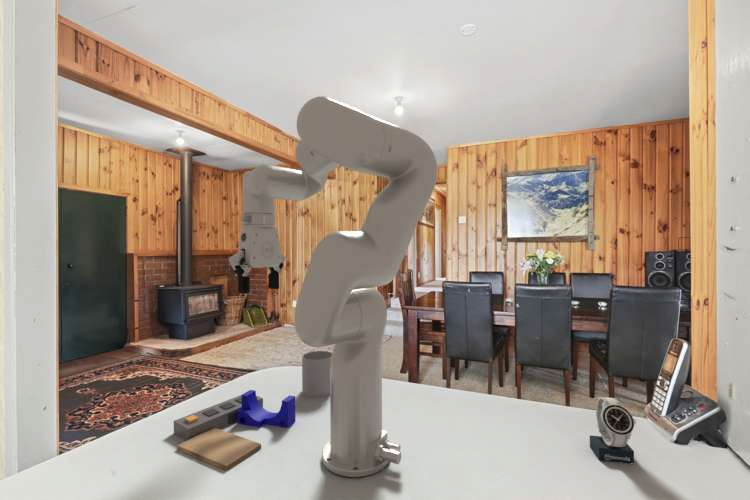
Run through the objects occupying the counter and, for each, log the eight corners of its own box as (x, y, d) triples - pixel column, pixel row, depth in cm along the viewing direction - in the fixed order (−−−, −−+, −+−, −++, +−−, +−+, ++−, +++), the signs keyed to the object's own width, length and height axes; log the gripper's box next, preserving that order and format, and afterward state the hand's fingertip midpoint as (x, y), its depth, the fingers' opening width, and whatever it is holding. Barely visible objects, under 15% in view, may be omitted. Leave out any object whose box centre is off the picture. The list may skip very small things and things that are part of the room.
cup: (323, 384, 102) (323, 349, 102) (339, 393, 96) (339, 355, 96) (296, 391, 97) (296, 354, 97) (312, 401, 91) (311, 362, 91)
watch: (603, 471, 62) (603, 408, 62) (586, 446, 70) (586, 390, 70) (640, 476, 60) (640, 411, 60) (618, 449, 68) (618, 392, 68)
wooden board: (261, 448, 69) (261, 444, 69) (226, 470, 62) (226, 466, 62) (213, 430, 76) (213, 427, 76) (177, 449, 69) (177, 445, 69)
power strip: (247, 404, 90) (247, 390, 90) (263, 410, 86) (263, 395, 86) (173, 435, 75) (173, 418, 75) (189, 444, 72) (189, 426, 72)
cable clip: (237, 424, 79) (237, 397, 79) (250, 415, 84) (250, 389, 84) (284, 432, 76) (284, 404, 76) (295, 423, 80) (295, 396, 80)
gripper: (241, 218, 79) (242, 295, 79) (294, 223, 95) (294, 288, 95) (219, 220, 83) (219, 294, 83) (273, 224, 98) (273, 286, 98)
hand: (259, 290), depth 89 cm, fingers open, 9 cm apart
